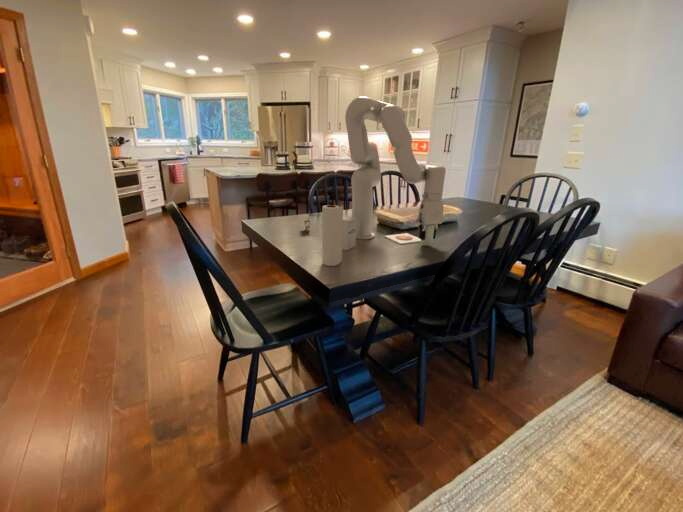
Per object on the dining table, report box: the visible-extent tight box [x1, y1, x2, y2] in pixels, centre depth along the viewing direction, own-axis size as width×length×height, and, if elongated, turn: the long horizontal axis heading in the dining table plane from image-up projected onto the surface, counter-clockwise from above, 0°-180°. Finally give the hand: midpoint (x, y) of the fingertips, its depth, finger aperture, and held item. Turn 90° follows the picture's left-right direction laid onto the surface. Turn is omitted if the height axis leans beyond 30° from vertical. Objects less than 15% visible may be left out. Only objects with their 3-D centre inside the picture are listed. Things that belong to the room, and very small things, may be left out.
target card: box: [384, 232, 421, 246], centre depth 153 cm, size 13×13×1 cm
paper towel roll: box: [321, 204, 344, 267], centre depth 118 cm, size 7×6×21 cm
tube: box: [419, 224, 435, 246], centre depth 142 cm, size 5×5×10 cm
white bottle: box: [342, 215, 357, 251], centre depth 138 cm, size 7×7×13 cm
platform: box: [302, 217, 313, 233], centre depth 162 cm, size 12×18×7 cm, turn 8°
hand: (426, 238), depth 142 cm, fingers closed on tube, 5 cm apart
